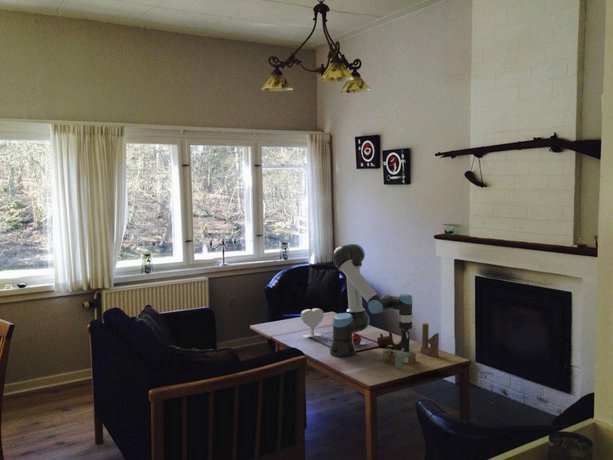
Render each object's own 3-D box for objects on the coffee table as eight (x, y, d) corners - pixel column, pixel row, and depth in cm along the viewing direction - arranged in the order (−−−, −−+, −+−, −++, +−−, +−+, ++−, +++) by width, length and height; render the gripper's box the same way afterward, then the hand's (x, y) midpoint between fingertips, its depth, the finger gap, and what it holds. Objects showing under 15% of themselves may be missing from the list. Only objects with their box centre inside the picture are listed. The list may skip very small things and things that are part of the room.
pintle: (387, 361, 310) (387, 349, 310) (387, 360, 312) (387, 348, 312) (391, 361, 310) (391, 349, 310) (390, 360, 312) (390, 348, 312)
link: (384, 363, 308) (384, 354, 307) (382, 359, 315) (383, 350, 314) (416, 363, 308) (416, 354, 307) (413, 359, 315) (413, 350, 314)
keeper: (395, 367, 301) (395, 354, 300) (405, 364, 305) (405, 351, 304) (400, 369, 297) (401, 356, 297) (410, 366, 302) (410, 353, 301)
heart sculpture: (320, 333, 368) (320, 307, 366) (324, 335, 363) (324, 308, 362) (300, 336, 361) (300, 309, 360) (303, 338, 357) (303, 311, 355)
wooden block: (434, 357, 318) (435, 327, 316) (420, 352, 326) (420, 323, 325) (438, 356, 320) (439, 326, 319) (424, 351, 329) (424, 322, 327)
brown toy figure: (405, 346, 331) (403, 329, 334) (378, 349, 335) (376, 333, 339) (407, 347, 336) (404, 330, 339) (380, 350, 341) (378, 334, 344)
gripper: (414, 325, 301) (414, 366, 303) (409, 317, 318) (408, 356, 320) (401, 325, 301) (401, 366, 303) (396, 317, 318) (396, 356, 320)
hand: (405, 360), depth 311 cm, fingers closed on link, 4 cm apart
